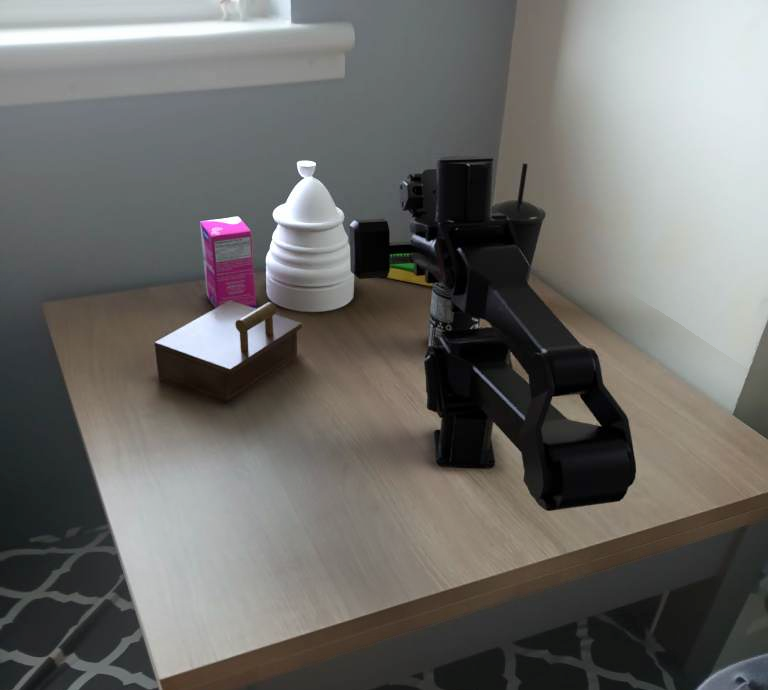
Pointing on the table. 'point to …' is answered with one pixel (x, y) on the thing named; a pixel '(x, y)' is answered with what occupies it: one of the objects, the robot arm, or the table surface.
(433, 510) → the table surface
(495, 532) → the table surface
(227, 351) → the lid
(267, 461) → the table surface
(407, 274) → the dish sponge
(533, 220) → the drinking cup
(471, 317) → the beverage can
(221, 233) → the supplement box
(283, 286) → the honey pot
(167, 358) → the tea box
